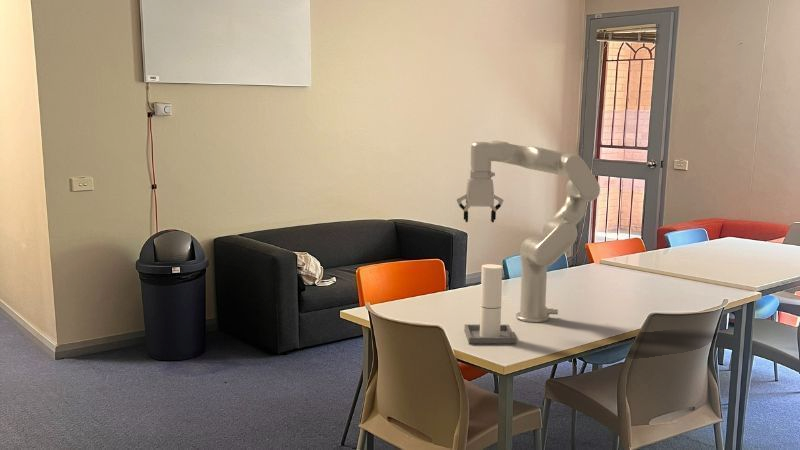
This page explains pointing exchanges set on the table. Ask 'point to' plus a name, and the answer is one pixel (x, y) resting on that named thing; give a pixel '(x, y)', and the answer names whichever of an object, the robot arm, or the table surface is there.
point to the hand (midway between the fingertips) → (479, 221)
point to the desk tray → (475, 339)
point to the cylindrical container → (490, 300)
